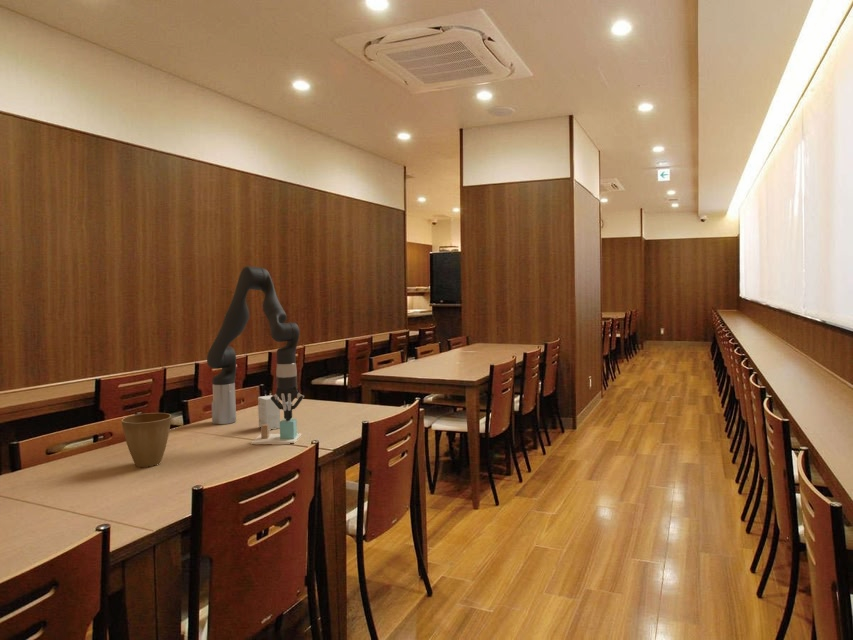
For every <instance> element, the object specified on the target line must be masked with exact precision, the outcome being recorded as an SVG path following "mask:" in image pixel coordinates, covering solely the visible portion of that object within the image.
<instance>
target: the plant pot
mask: <svg viewBox="0 0 853 640" xmlns="http://www.w3.org/2000/svg"><path fill="white" fill-rule="evenodd" d="M171 421H172V414H170V413H166V412H149V413H138V414H132V415H129V416H125V417H123V418H122V419H121V426H122V430H123V434H124V438H125V442H126V445H127V449H128V451H129V453H130V456H131V459H132V461H133V463H134V465H135V467H136V468H140V467H146V468H148V467H147V466H153V465H156V466H158V465H160V464H161V463H160V462H162V460H163V456H164V455H165V451H166V447H167V443H168V439H169V434H170V428H171V423H172V422H171ZM159 463H160V464H159ZM157 464H158V465H157ZM153 467H154V466H153Z"/></svg>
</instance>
